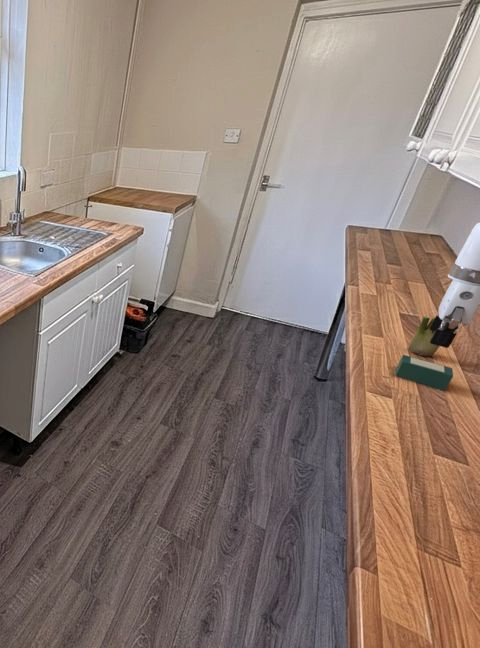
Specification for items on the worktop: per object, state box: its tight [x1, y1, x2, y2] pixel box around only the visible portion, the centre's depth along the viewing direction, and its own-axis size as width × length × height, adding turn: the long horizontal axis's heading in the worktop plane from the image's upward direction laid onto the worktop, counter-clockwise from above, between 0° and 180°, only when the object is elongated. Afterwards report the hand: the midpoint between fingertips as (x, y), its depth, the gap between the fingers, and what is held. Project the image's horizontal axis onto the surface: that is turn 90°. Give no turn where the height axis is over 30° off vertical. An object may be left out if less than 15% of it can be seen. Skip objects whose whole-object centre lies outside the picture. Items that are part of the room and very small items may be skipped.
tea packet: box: [395, 354, 454, 392], centre depth 106 cm, size 9×5×5 cm, turn 45°
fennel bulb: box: [408, 315, 440, 358], centre depth 117 cm, size 6×5×12 cm
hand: (438, 338), depth 103 cm, fingers open, 9 cm apart
